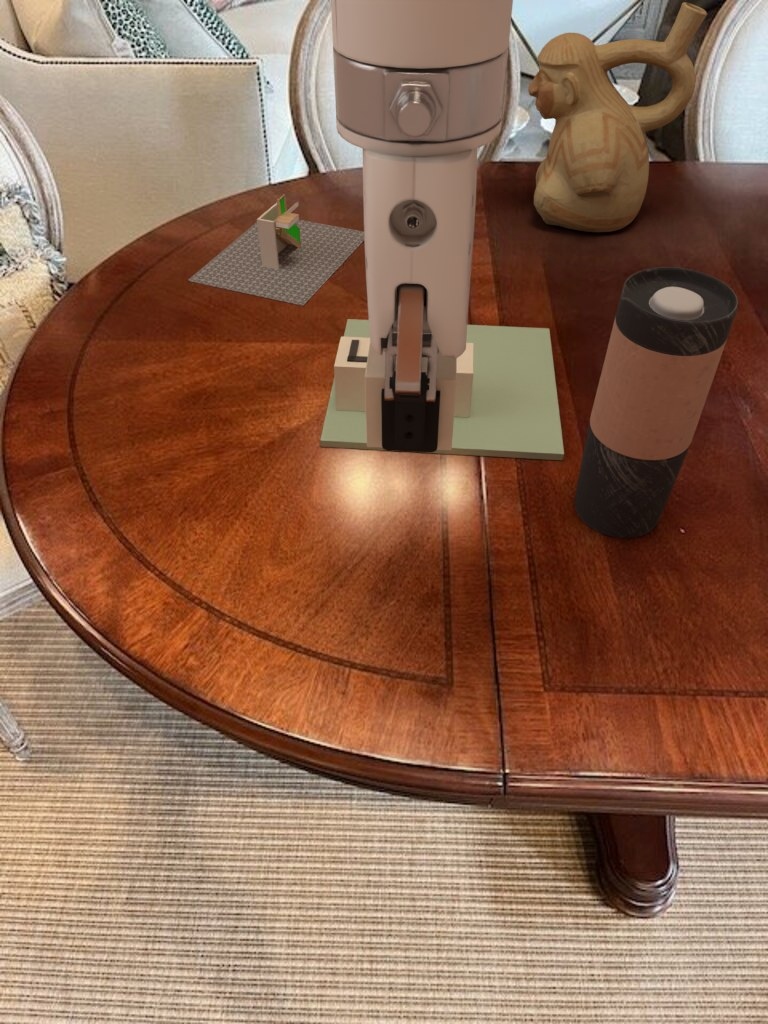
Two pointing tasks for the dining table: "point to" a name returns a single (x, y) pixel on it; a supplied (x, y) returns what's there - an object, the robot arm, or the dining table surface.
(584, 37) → the ceramic vessel
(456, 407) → the tile
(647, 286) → the travel mug
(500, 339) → the board
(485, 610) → the dining table surface
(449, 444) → the tile
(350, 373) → the tile
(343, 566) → the dining table surface
